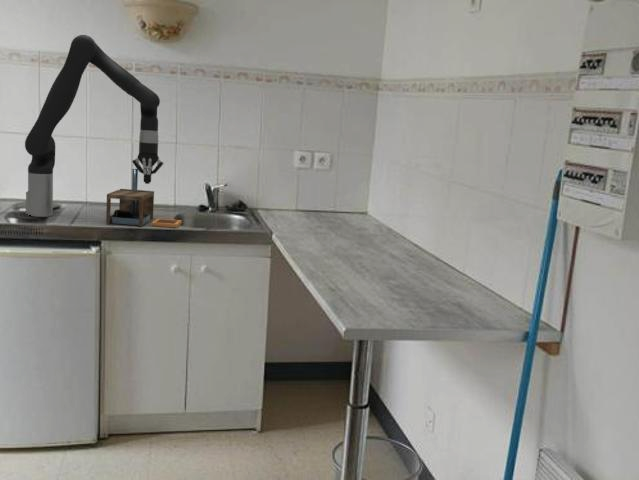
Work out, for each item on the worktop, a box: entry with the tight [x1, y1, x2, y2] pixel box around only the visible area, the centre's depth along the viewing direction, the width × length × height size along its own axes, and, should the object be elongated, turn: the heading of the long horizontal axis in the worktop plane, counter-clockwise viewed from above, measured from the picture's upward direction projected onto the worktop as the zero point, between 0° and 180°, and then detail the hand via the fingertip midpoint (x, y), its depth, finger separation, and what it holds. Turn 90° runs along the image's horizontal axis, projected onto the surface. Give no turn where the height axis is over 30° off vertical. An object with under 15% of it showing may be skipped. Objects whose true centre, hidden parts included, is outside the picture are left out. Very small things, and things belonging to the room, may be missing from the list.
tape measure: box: [113, 209, 133, 218], centre depth 272 cm, size 7×7×4 cm
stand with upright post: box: [110, 168, 151, 226], centre depth 272 cm, size 14×16×21 cm
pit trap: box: [151, 218, 183, 229], centre depth 273 cm, size 10×11×2 cm
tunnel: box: [105, 188, 155, 228], centre depth 272 cm, size 14×20×12 cm
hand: (147, 183), depth 278 cm, fingers closed
